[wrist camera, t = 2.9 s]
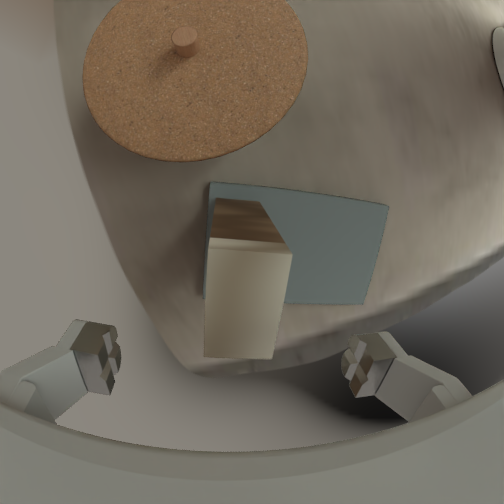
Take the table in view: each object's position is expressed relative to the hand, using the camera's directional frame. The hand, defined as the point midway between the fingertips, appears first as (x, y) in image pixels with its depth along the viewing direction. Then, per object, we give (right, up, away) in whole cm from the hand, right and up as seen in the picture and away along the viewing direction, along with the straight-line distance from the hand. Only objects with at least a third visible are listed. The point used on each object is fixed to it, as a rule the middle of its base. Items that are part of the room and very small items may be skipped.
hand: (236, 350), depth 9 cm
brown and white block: (-1, +5, +11) cm, 12 cm away
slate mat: (+4, +3, +13) cm, 14 cm away
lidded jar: (-3, +15, +8) cm, 17 cm away
